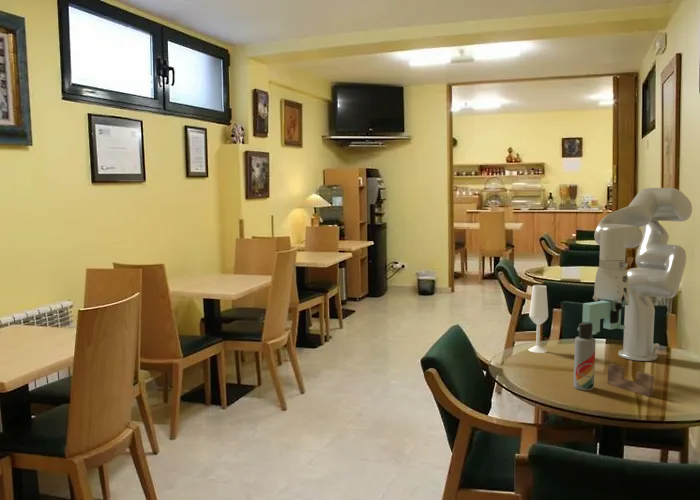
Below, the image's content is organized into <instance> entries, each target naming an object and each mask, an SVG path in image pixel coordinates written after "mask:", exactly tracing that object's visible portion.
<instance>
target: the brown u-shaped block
mask: <svg viewBox="0 0 700 500" xmlns="http://www.w3.org/2000/svg"><path fill="white" fill-rule="evenodd" d="M625 370H626V369H625V367H624V366H622V365H618V364H615V363H609V364H608V365H607V384H608V385H612V386H615V387H617V388H621V389H623V390H627V391H630V392H633V393H636V394H641V395H643V396H646V397H653V396H654V383H655V382H654V381H655V376H654V374H650V373H646V372H643V371H637V372H635V373H636V374H635V381H633V380H630V379H627V378H625Z"/></svg>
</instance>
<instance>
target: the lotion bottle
mask: <svg viewBox="0 0 700 500" xmlns="http://www.w3.org/2000/svg"><path fill="white" fill-rule="evenodd" d="M578 327H579V331H578V336H575V340H574V359H573V360H574V361H573V362H574V363H573V388H574V389H577V390H579V391H588V392H589V391H593V390H594V387H595V386H594V385H595V365H596V361H595V360H596V342H597V341H596V339H595V338H593V334H592V331H593V325H592V323H591V322H583V323H582V322H580V323H578Z"/></svg>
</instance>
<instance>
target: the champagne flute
mask: <svg viewBox="0 0 700 500" xmlns="http://www.w3.org/2000/svg"><path fill="white" fill-rule="evenodd" d="M547 293H548V292H547V285H543V284H534V285H532V291H531V297H530V306H529V314H528V317H529V319H530V320H531V321H532V322H533V323H534V324H535V325H536V333H535V334H536V338H535V339H536V341H535V343H536V344H535V345H534V346H532V347H530V348H528V350H527V351H529V352H531V353H535V354H536V353H537V354H544V353H547V352H548V350H547V349H546V348H544V347H542V346H541V345H540V344H541V343H540V339H541V338H540V337H541V336H540V335H541V325H542V324H544V323H545V322H546V321H547V320H548V318H549V307H548V304H549V303H548V294H547Z"/></svg>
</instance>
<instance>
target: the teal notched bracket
mask: <svg viewBox="0 0 700 500" xmlns="http://www.w3.org/2000/svg"><path fill="white" fill-rule="evenodd" d="M622 302H623V301H622V300H621V303H622ZM616 305H617V303H616ZM611 311H612V301H608V300H603V301H597V302H596V301H591V302H583V303H582V318H581V319H582V321H581V323H583V322H591V323H592V325H593V331H592V336H593V335H597V334H598V333H600V332H601V319H603V318H604V322H603V321H602V322H603V323H602V324H603V329H607V330H615V329H618V330H624V329H625V325H624V324H621V322H622V321H621V320H622V309H621V310H620V311H619V320H618V323H613V324H612V323H610V313H611ZM577 331H578V332H579V326H578V327H577Z"/></svg>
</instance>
